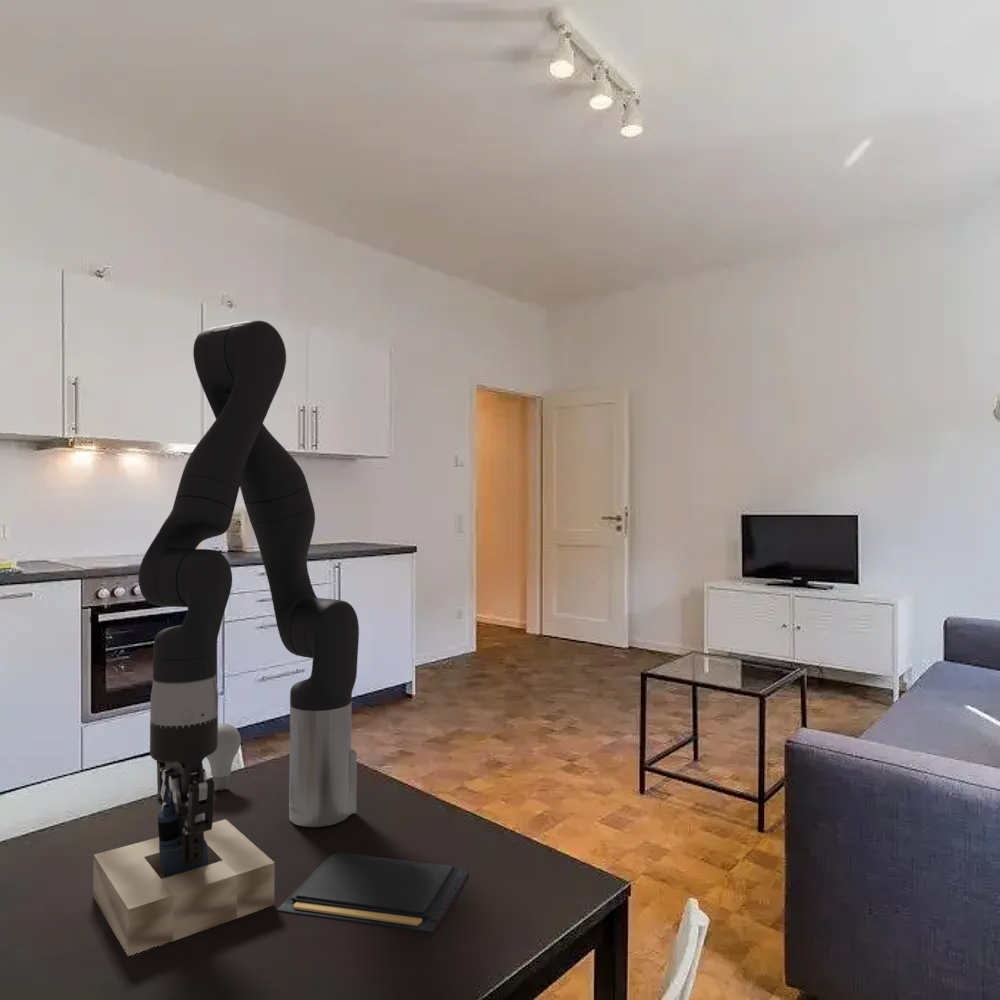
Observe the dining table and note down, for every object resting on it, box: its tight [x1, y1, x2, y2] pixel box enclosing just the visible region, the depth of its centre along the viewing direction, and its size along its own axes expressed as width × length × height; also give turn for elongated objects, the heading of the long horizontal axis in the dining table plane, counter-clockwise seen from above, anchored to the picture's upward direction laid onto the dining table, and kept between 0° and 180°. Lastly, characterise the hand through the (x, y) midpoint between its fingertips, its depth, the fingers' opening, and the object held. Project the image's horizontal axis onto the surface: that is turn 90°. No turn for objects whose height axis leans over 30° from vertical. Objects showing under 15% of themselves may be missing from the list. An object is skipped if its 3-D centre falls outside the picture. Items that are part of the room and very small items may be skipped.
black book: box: [275, 852, 470, 935], centre depth 91 cm, size 20×2×15 cm
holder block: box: [92, 819, 276, 957], centre depth 89 cm, size 16×16×5 cm
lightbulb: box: [205, 723, 242, 791], centre depth 123 cm, size 6×6×11 cm
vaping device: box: [157, 804, 208, 878], centre depth 88 cm, size 3×5×12 cm, turn 112°
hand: (183, 853), depth 89 cm, fingers open, 6 cm apart
